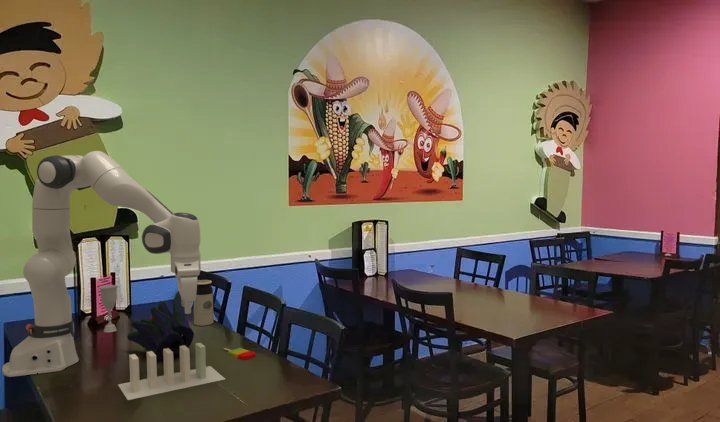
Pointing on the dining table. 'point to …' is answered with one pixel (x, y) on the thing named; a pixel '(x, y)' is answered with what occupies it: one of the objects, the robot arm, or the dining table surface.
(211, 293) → the travel mug
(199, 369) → the domino
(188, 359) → the domino
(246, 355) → the popsicle
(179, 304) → the decorative plant
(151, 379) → the domino
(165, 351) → the domino
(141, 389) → the mat
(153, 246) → the robot arm
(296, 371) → the dining table surface
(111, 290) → the chalice
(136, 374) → the domino
